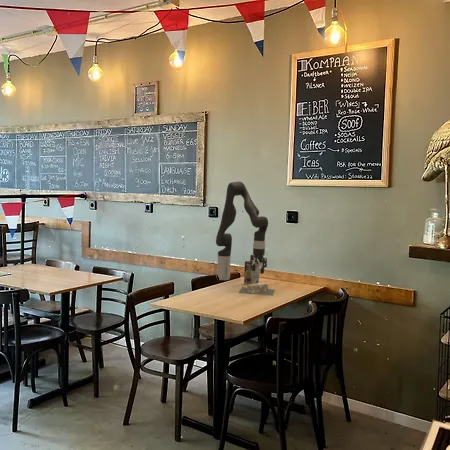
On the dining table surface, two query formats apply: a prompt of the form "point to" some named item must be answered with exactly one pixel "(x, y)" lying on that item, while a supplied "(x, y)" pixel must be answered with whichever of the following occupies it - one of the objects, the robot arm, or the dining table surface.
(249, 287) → the block
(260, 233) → the robot arm
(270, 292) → the mat
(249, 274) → the coffee box
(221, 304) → the dining table surface
